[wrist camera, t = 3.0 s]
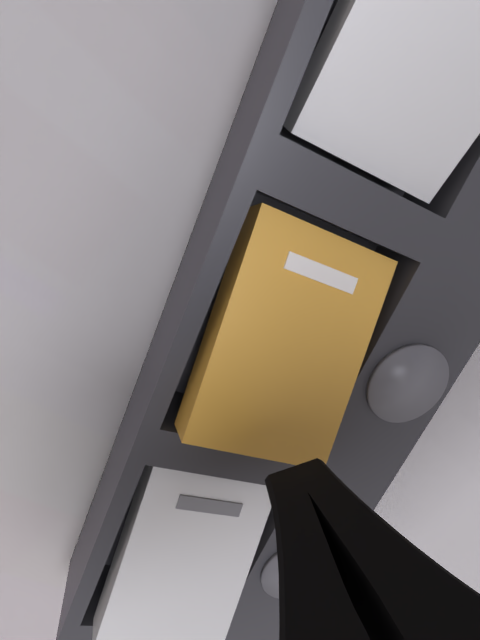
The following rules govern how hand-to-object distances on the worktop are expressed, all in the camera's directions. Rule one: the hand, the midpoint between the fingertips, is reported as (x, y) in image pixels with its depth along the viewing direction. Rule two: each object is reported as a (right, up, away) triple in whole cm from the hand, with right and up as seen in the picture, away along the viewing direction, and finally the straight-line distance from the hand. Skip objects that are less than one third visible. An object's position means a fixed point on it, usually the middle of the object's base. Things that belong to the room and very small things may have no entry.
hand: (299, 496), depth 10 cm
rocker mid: (0, +4, +3) cm, 5 cm away
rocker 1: (-3, -4, +5) cm, 8 cm away
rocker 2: (+3, +11, 0) cm, 12 cm away
